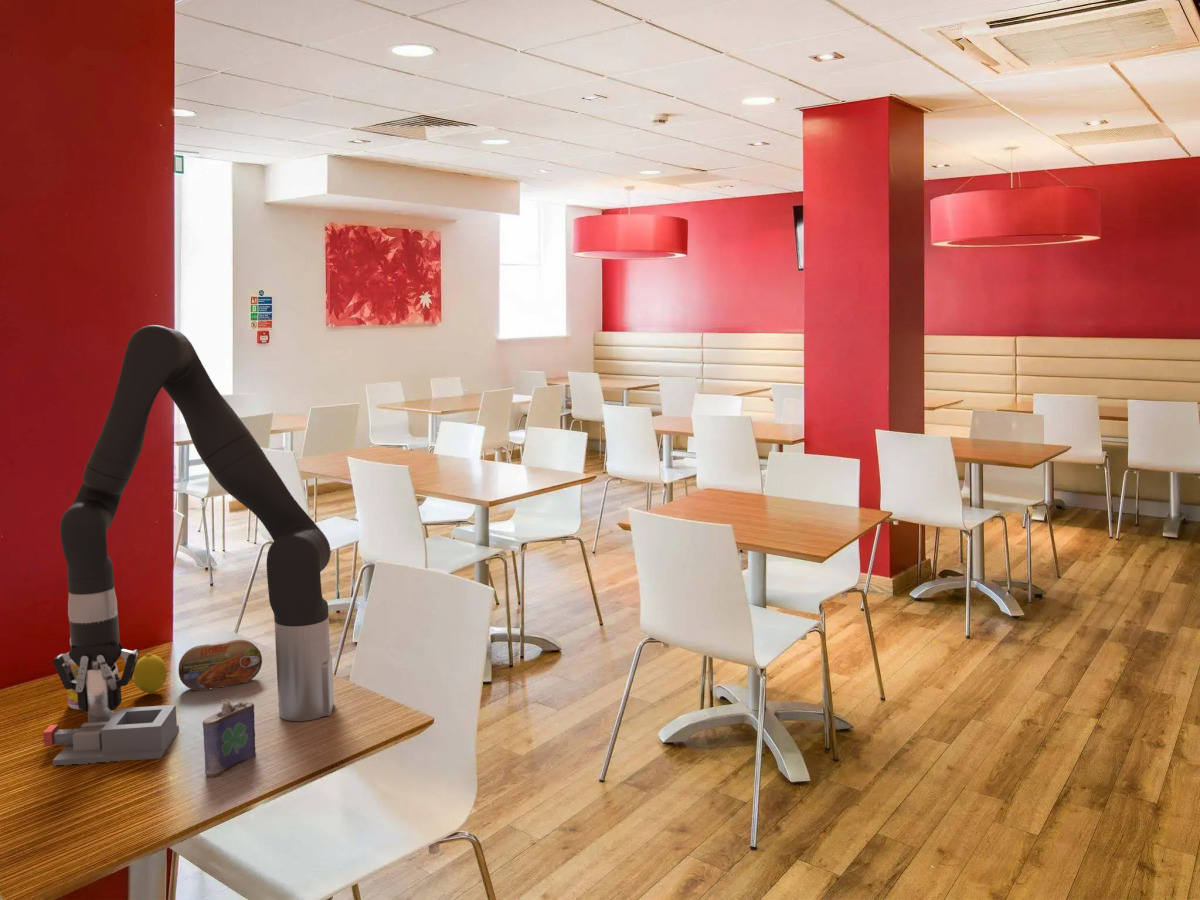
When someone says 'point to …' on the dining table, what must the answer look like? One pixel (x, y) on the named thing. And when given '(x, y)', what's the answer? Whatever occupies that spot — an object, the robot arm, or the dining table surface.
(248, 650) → the tin
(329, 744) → the dining table surface
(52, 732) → the lock pin
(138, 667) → the lemon
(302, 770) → the dining table surface
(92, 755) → the mount
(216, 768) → the flask
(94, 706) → the salt shaker
